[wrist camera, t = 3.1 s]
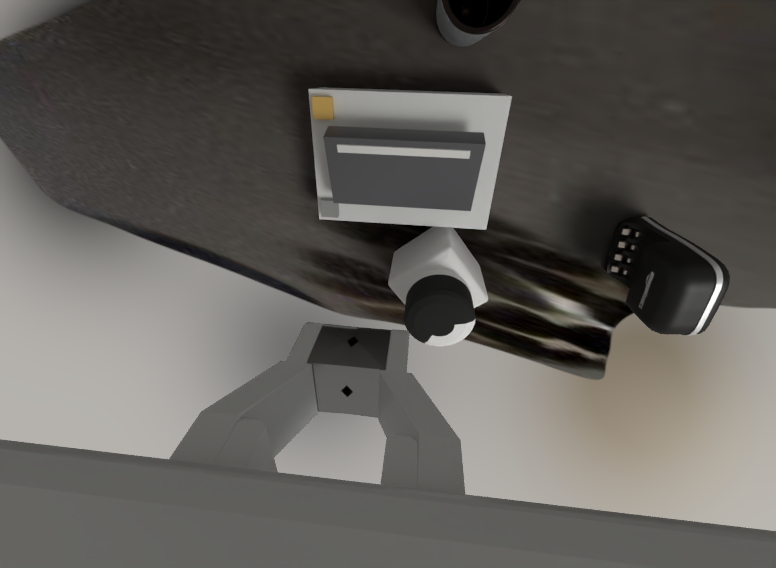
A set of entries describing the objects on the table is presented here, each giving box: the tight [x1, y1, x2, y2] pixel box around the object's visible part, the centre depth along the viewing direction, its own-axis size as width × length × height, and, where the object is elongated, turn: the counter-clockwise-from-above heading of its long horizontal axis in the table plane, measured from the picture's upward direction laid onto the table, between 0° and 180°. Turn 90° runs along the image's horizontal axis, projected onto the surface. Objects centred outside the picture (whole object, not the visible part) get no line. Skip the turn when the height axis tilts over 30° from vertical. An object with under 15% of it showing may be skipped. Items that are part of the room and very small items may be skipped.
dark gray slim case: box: [323, 126, 486, 211], centre depth 28 cm, size 12×6×2 cm, turn 89°
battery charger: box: [605, 216, 730, 336], centre depth 31 cm, size 7×4×11 cm, turn 5°
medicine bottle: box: [388, 226, 488, 346], centre depth 33 cm, size 7×7×12 cm
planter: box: [436, 0, 520, 47], centre depth 22 cm, size 4×4×10 cm
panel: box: [308, 87, 512, 230], centre depth 31 cm, size 16×11×5 cm
